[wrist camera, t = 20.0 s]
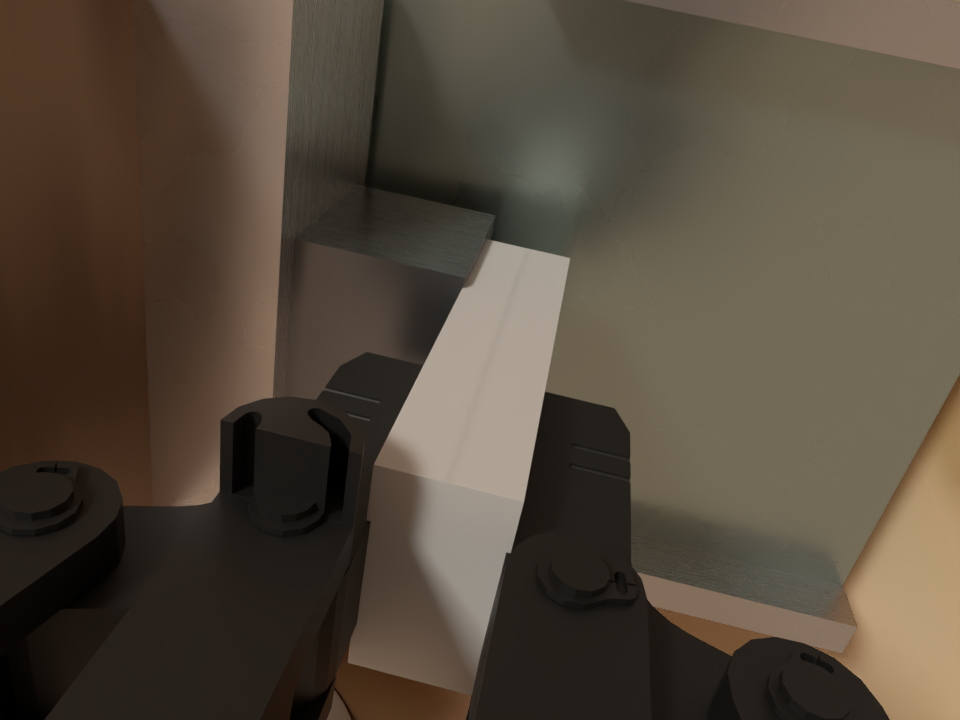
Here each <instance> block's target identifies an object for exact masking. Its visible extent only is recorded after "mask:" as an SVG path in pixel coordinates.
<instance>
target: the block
mask: <svg viewBox="0 0 960 720" xmlns="http://www.w3.org/2000/svg"><path fill="white" fill-rule="evenodd" d="M40 461H76V462H80V463H83V464H87V465H90V466H94V467H97V468H100V469H102V470H103V471H104V472H106V473H107V474H108V475H109V476H111V477H112V478H113V479H115V480H116V481H117V483H118V486H119V489H120V492H121V495H122V498H123V506H153V495H152V470H151V446H150V421H149V397H148V372H147V347H146V323H145V298H144V274H143V249H142V224H141V200H140V175H139V151H138V126H137V101H136V77H135V52H134V28H133V3H132V0H0V472H1V471H4V470H6V469H9V468H11V467H14V466H18V465H24V464H29V463H35V462H40Z"/></svg>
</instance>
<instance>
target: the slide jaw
mask: <svg viewBox="0 0 960 720" xmlns="http://www.w3.org/2000/svg"><path fill="white" fill-rule="evenodd" d="M132 3H133V28H134V52H135V77H136V101H137V126H138V151H139V175H140V200H141V224H142V249H143V274H144V298H145V323H146V347H147V372H148V397H149V421H150V446H151V470H152V495H153V506H191V505H201V504H206V503H211V502H212V501H213V500H214V498H215V497H216V496H217V494H218V493H219V492H220V420H221V419H222V418H223V417H225V416H226V415H228V414H229V413H230V412H232V411H233V410H234V409H236V408H237V407H239V406H242V405H245V404H248V403H251V402H254V401H257V400H260V399H265V398H278V397H298V398H306V399H313V400H316V399H317V398H318V396H319V395H320V393H321V392H322V390H325V386H326V385H327V383H328V382H329V381H330V379H331V378H332V376H333V375H334V374H335V372H336V371H337V369H338V368H339V366H341V365H342V364H344V363H346V362H348V361H350V360H352V359H354V358H356V357H358V356H360V355H362V354H364V353H366V352H370V353H374V354H378V355H382V356H386V357H391V358H395V359H399V360H403V361H407V362H411V363H416V364H420V365H424V363H425V361H426V359H427V357H428V355H429V353H430V351H431V349H432V348H433V346H434V344H435V342H436V340H437V338H438V336H439V334H440V332H441V330H442V328H443V326H444V324H445V322H446V320H447V318H448V316H449V314H450V312H451V310H452V308H453V306H454V304H455V302H456V300H457V298H458V296H459V294H460V292H461V290H462V288H464V286H465V284H466V282H467V279H468V277H469V275H470V273H471V271H472V269H473V267H474V265H475V263H476V261H477V259H478V256H479V254H480V252H481V250H482V248H483V246H484V244H485V242H486V240H487V239H488V240H491V237H492V232H493V227H494V221H495V216H496V215H492V214H488V213H483V212H479V211H474V210H470V209H465V208H461V207H457V206H452V205H448V204H443V203H439V202H434V201H430V200H425V199H421V198H416V197H412V196H407V195H403V194H398V193H394V192H389V191H385V190H380V189H376V188H371V187H367V186H365V178H366V169H367V159H368V150H369V140H370V130H371V121H372V111H373V102H374V92H375V82H376V73H377V63H378V54H379V44H380V34H381V25H382V15H383V6H384V0H132Z"/></svg>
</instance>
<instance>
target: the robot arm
mask: <svg viewBox="0 0 960 720" xmlns="http://www.w3.org/2000/svg"><path fill="white" fill-rule="evenodd" d="M569 262H570V258H568V257H563V256H559V255H554V254H550V253H545V252H541V251H537V250H532V249H528V248H523V247H519V246H514V245H510V244H506V243H501V242H497V241H492V240H488V239H487V240H486V242H485V244H484V246H483V248H482V250H481V252H480V254H479V256H478V259H477V261H476V263H475V265H474V267H473V269H472V271H471V273H470V275H469V277H468V279H467V282H466V284H465V286H464V288H462V290H461V292H460V294H459V296H458V298H457V300H456V302H455V304H454V306H453V308H452V310H451V312H450V314H449V316H448V318H447V320H446V322H445V324H444V326H443V328H442V330H441V332H440V334H439V336H438V338H437V340H436V342H435V344H434V346H433V348H432V349H431V351H430V353H429V355H428V357H427V359H426V361H425V363H424V365H420V364H416V363H411V362H407V361H403V360H399V359H395V358H391V357H386V356H382V355H378V354H374V353H370V352H366V353H364V354H362V355H360V356H358V357H356V358H354V359H352V360H350V361H348V362H346V363H344V364H342V365H341V366H339V368H338V369H337V371H336V372H335V374H334V375H333V376H332V378H331V379H330V381H329V382H328V383H327V385H326V386H325V390H322V392H321V393H320V395H319V396H318V398H317V399H316V400H313V399H306V398H298V397H278V398H265V399H260V400H257V401H254V402H251V403H248V404H245V405H242V406H239V407H237V408H236V409H234V410H233V411H232V412H230V413H229V414H228V415H226V416H225V417H223V418H222V419H221V420H220V492H219V493H218V494H217V496H216V497H215V498H214V500H213V501H212V502H211V503H206V504H201V505H191V506H123V498H122V495H121V492H120V489H119V486H118V483H117V481H116V480H115V479H113V478H112V477H111V476H109V475H108V474H107V473H106V472H104V471H103V470H102V469H100V468H97V467H94V466H90V465H87V464H83V463H80V462H76V461H40V462H35V463H29V464H24V465H18V466H14V467H11V468H9V469H6V470H4V471H1V472H0V720H327V718H328V715H329V713H330V710H331V707H332V701H333V695H334V689H335V681H336V673H337V671H338V668H339V666H340V663H341V661H342V658H343V656H344V653H345V651H346V648H347V646H348V644H349V641H350V647H349V655H348V662H347V663H350V664H354V665H358V666H362V667H365V668H369V669H373V670H377V671H380V672H384V673H388V674H392V675H395V676H399V677H403V678H407V679H410V680H415V681H418V682H422V683H426V684H430V685H433V686H437V687H441V688H445V689H448V690H452V691H456V692H460V693H463V694H467V695H471V696H472V697H471V701H470V706H469V710H468V714H467V718H466V720H890V719H889V718H888V716H887V714H886V713H885V711H884V709H883V707H882V706H881V705H880V703H879V702H878V701H877V700H876V698H875V697H874V696H873V694H872V693H871V692H870V691H869V689H868V688H867V687H866V685H865V684H864V683H863V682H862V680H861V679H859V678H858V677H857V676H856V675H854V674H853V673H852V672H851V671H849V670H848V669H847V668H846V667H845V666H843V665H842V664H841V663H840V662H838V661H837V660H836V659H835V658H833V657H831V656H829V655H827V654H825V653H823V652H821V651H819V650H817V649H815V648H813V647H811V646H809V645H807V644H805V643H801V642H797V641H792V640H788V639H783V638H779V637H771V638H762V639H753V640H750V641H749V642H747V643H746V644H745V645H743V646H742V647H740V648H739V649H738V650H736V651H735V652H734V654H733V656H730V655H728V654H726V653H724V652H722V651H720V650H718V649H717V648H715V647H713V646H711V645H709V644H707V643H705V642H703V641H701V640H699V639H697V638H696V637H694V636H692V635H690V634H688V633H687V632H685V631H684V630H682V629H680V628H679V627H677V626H676V625H674V624H672V623H671V622H670V621H669V620H667V619H666V618H665V617H664V616H663V615H662V614H661V613H659V612H658V611H657V610H656V609H655V608H654V607H653V606H652V605H651V603H650V602H649V601H648V600H647V596H646V593H645V589H644V586H643V582H642V579H641V577H640V576H639V575H638V573H637V572H636V571H635V570H634V568H633V567H632V563H631V483H630V478H631V464H630V462H629V461H630V432H629V430H628V428H627V427H626V425H625V424H624V422H623V420H622V419H621V417H620V416H619V414H618V412H617V411H616V409H615V408H612V407H608V406H603V405H599V404H595V403H591V402H587V401H582V400H578V399H574V398H570V397H566V396H561V395H557V394H553V393H549V392H545V388H546V383H547V378H548V372H549V367H550V362H551V357H552V351H553V346H554V341H555V336H556V330H557V325H558V320H559V314H560V309H561V304H562V299H563V293H564V288H565V283H566V277H567V272H568V267H569ZM350 639H351V640H350Z"/></svg>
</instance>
